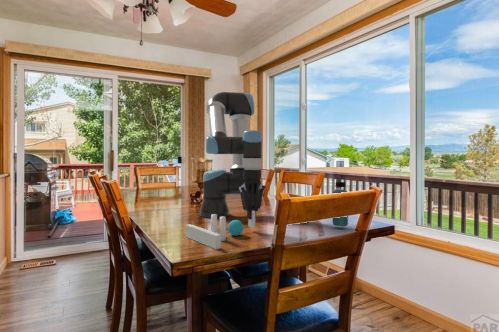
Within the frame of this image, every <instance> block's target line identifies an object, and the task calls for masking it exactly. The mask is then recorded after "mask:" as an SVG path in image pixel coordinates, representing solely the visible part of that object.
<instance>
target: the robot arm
mask: <svg viewBox="0 0 499 332" xmlns="http://www.w3.org/2000/svg"><path fill="white" fill-rule="evenodd" d="M206 113H207V116H208V124H209V125H208V126H209V136H206V137H205V152H206V154H208V155H232V166H231V167H230V168H229V171H227V170H226V169H225V168H222V169H214V170H209V171H208V170H207V171H205V172H204V173H203V177H202V186H203V187H202V188H203V189H202V203H201V206H200V209H199V216H200V217H202V218H208V219H211V215H212V214H217V219H218V218H219V219H220V217H222V216H224V217H229V215H230V209H229V206H228V203H227V195H231V196H232V195H233V196H235V195H236V196H237V195H240V198H241V199H240V200H241V206H242V210H245V212H246V218H247V221H248V222H247V227H248V228H256V219H257V212H259V209H261V207H262V201H263V194H264V191H265V188H266V185H264V184H262V183H261V178H262V170H261V168H262V147H263V145H262V143H263V138H262V137H263V136H262V135H263V134H262V132H261V130H250V129H249V121H251V119H252V116H253V115H254V114H255V102H254V97H253V94H251V93H248V92H235V91H234V92H229V91H228V92H227V91H221V92H218V93H216V94H214V95H212V97H211V98H209V100H208V102H207V104H206ZM225 115H229V120H231V122H232V123H231V124H232V126H231V127H232V128H231V129H232V136H228V134H227V126H226V119H225V118H226V117H225Z"/></svg>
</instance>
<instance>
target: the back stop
mask: <svg viewBox="0 0 499 332" xmlns="http://www.w3.org/2000/svg"><path fill="white" fill-rule="evenodd" d="M217 233H218V232H217ZM217 233H214V232H211V230H210V229H209V230H208V229H205V228H204V227H203V228H202V227H200V226H196V225H193V224H192V223H191V224H190V223H189V224H188V223H187V224H185V237H186V238H187V239H188V238H189V239H190V240H193V241H196V242H197V243H200V244H203V245H204V246H207V247H209V248H212V249H214V250H218V249H221V248H222V246H221V245H222V241H221V235H220V234H217Z"/></svg>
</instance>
